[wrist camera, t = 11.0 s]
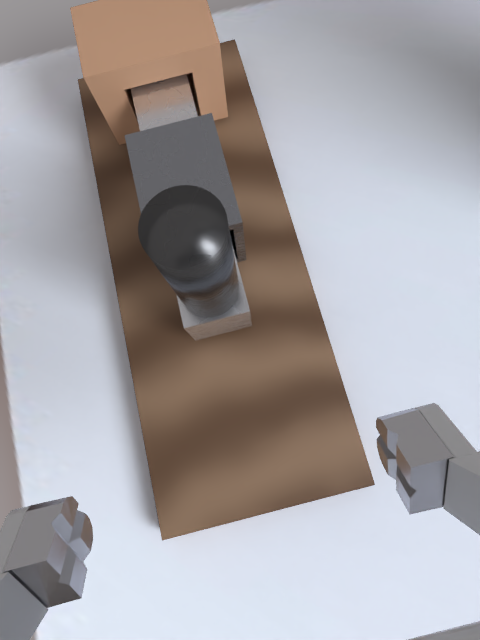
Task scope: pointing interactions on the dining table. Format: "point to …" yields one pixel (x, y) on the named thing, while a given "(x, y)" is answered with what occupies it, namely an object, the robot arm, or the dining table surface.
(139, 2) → the socket block
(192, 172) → the metal sleeve
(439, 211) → the dining table surface
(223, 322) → the grey piece
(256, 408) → the walnut board
